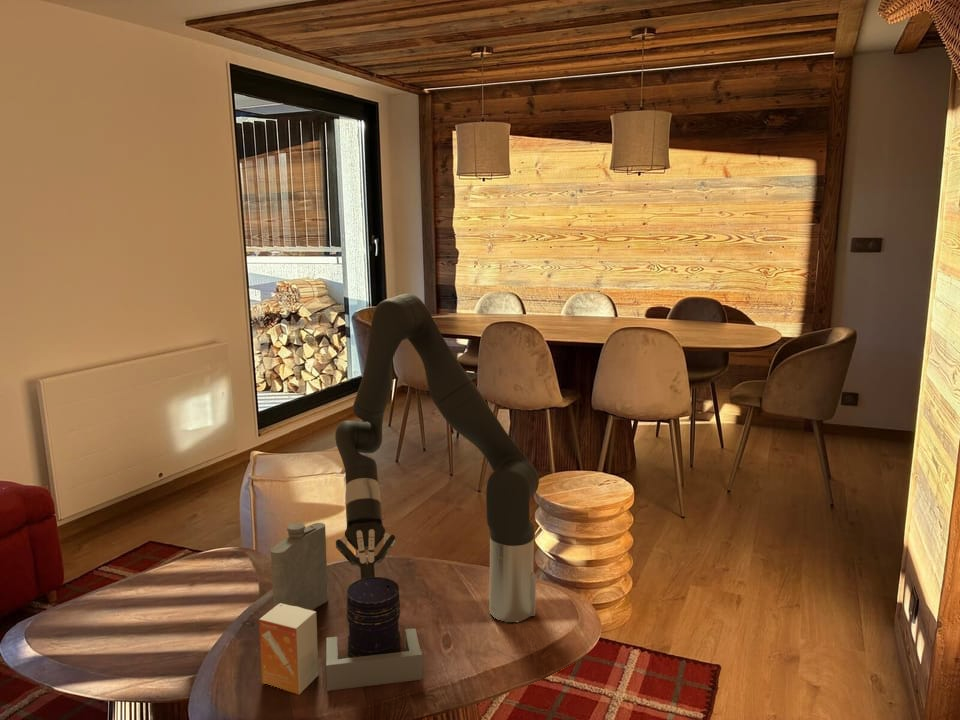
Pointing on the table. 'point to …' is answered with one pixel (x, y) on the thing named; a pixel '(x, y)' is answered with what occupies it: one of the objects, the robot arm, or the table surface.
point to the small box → (289, 647)
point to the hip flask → (300, 567)
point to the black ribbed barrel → (373, 617)
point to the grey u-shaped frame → (373, 666)
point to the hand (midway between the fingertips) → (368, 583)
